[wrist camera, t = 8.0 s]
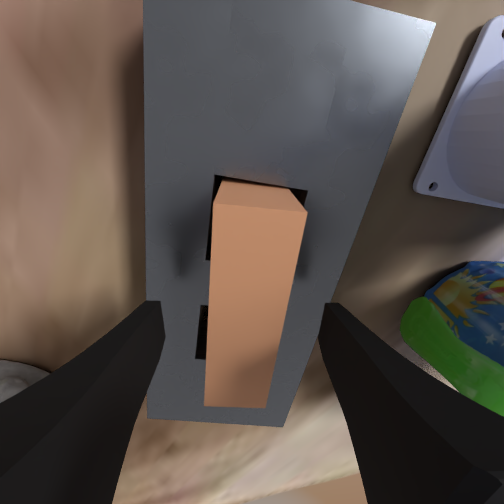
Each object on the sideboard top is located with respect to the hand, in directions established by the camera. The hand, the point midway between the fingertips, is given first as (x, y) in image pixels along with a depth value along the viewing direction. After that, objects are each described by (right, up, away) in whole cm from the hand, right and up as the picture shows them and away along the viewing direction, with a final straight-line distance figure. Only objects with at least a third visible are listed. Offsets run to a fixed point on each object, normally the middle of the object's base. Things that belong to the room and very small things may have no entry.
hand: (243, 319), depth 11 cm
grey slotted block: (0, +3, +5) cm, 6 cm away
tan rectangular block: (0, +3, +5) cm, 6 cm away
